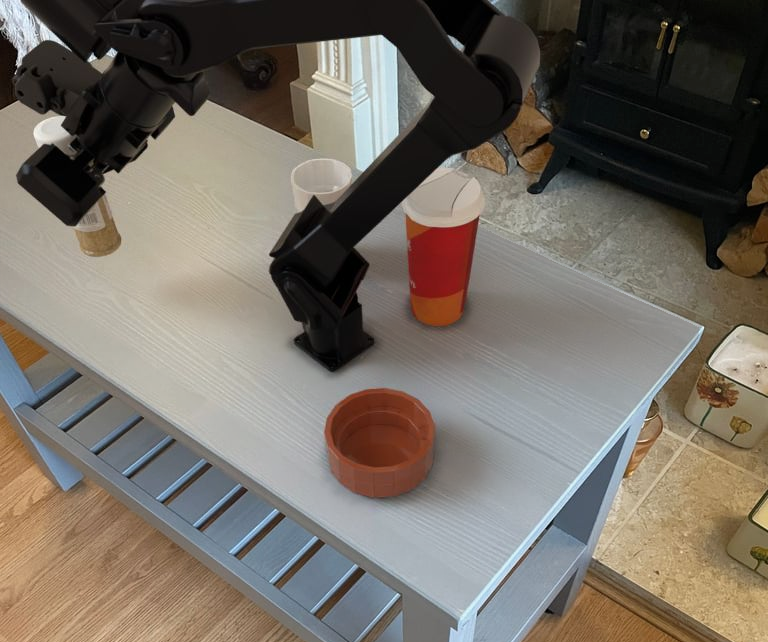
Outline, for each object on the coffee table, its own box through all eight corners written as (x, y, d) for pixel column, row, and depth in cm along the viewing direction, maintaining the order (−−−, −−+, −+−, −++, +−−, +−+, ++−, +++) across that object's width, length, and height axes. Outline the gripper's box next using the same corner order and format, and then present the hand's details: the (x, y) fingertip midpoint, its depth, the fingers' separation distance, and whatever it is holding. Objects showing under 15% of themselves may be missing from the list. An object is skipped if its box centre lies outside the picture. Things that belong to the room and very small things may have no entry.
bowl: (455, 458, 78) (457, 428, 75) (378, 520, 74) (377, 491, 71) (382, 403, 83) (381, 371, 79) (306, 458, 79) (301, 428, 75)
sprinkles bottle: (129, 235, 88) (88, 115, 77) (112, 261, 86) (67, 141, 75) (90, 231, 89) (45, 111, 78) (72, 256, 86) (23, 137, 75)
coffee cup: (430, 274, 94) (435, 154, 82) (488, 304, 91) (502, 184, 78) (385, 312, 90) (383, 193, 78) (444, 344, 87) (451, 225, 75)
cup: (330, 235, 98) (323, 151, 89) (367, 260, 96) (364, 175, 86) (289, 260, 96) (277, 176, 87) (326, 286, 93) (318, 202, 84)
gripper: (111, -27, 72) (52, 80, 84) (-13, 73, 62) (-61, 179, 74) (208, 74, 77) (139, 162, 89) (107, 182, 67) (44, 266, 79)
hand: (69, 189), depth 82 cm, fingers closed on sprinkles bottle, 4 cm apart
